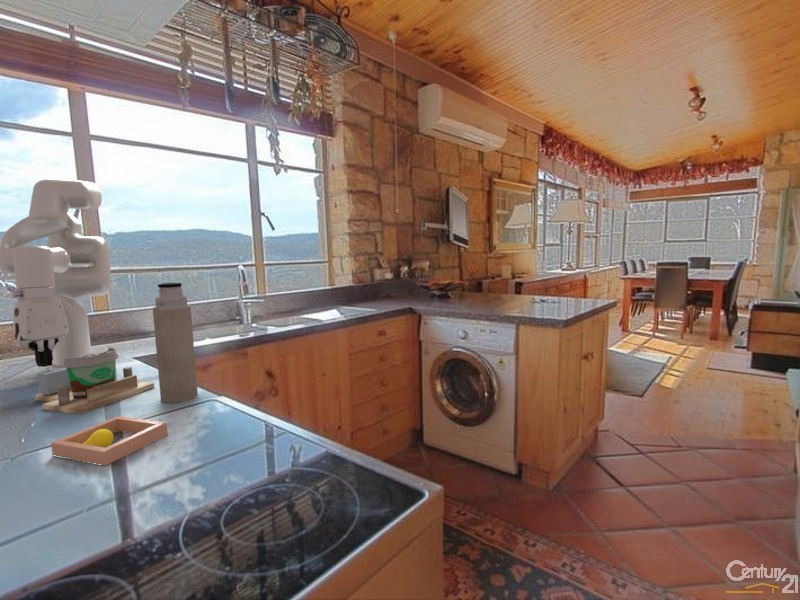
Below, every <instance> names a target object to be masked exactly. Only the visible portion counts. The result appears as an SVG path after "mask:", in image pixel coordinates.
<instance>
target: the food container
mask: <svg viewBox="0 0 800 600" xmlns="http://www.w3.org/2000/svg"><path fill="white" fill-rule="evenodd" d="M118 358H119V355H118V351H117V350H116V349H115V348H114V347H107V350H106V351H103V352H100V353H92V354H90V355H86V356H84V357H82V358H65V361H64V366H63V368H67V372H68V377H69V381H70V385H71V390H72V394H73V399H82V398H87V392H86V390H88V389H91V388H94V387H97V386H101V385H104V384H107V383H110V382H113V381H116V360H117V359H118Z"/></svg>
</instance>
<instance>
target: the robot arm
mask: <svg viewBox="0 0 800 600" xmlns="http://www.w3.org/2000/svg"><path fill="white" fill-rule="evenodd" d="M100 189H101V188H99V186H98V185H97V184H96V183H94V182H91V181H84V180H73V179H53V178H52V179H51V178H50V179H42V180H38V181H37V182H36V183H35V184H34V186H33V188H32V193H31V201H30V205H29V212H28V216H26V217H24V218H22V219H21V220H19V221H18V222H16V223H15V224H13V225H12V226H10V227H9V228H8V229H7V230H6V231H5V232H4V233H3V235H2V238H1V242H0V269H1V271H2V272H3V273H4V274H7V275H9V276H14V278H15V280H14V281H15V290H14V291H11V293H10V296H11V297H12V298H16V300H17V301H14V305H13V313H12V328H13V329H12V330H13V336H14V339H15V340H16V344H15V345H16V347H24V348H28V349H30V350H31V351H32V352H34V359H35V363H36V366H37V367H42V368H43V367H44V368H45V367H46V368H47V367H48V371H51V370H55V369H59V368H63V366H64V361H65V358H82V357H84V356H86V355H90V354H93V353H92V345H91V336H90V327H89V326H90V325H89V317H88V310H87V309H86V307H85V306H84V305H83V304H82V303H81V302H80V301H78V299H76V298H87V297H90V298H91V297H101V296H106V295H108V294H109V293H110V291H111V289H112V288H111V287H112V273H111V253H110V252H111V251H110V247H109V244H108V242H107V240H106V239H104V238H103V237H101V236H84V235H83V234H82V233H83V232H82V231H83V228H82V224H81V223H80V221H79V219H77V218H76V217H75V216H73V214H71V213H70V212H69V210H71V209H72V210H74V209H76V210H97V209H98V208H100V206H101V204H102V201H103V196H102V195H103V194H102V192H101V190H100ZM44 238H47V239H48V241H47V245H48V246H46V245H37V244H36V245H35V244H34V245H30V244H29V243H32V242H33V241H36V240H40V239H44ZM27 244H28V245H27Z"/></svg>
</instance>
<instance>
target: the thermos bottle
mask: <svg viewBox="0 0 800 600" xmlns="http://www.w3.org/2000/svg"><path fill="white" fill-rule="evenodd" d="M182 285H183V284H182V282H164V283H163V282H162V283H158V284H157V288H159V289H158V296H157V297H156V298H155V299H154V300H155V302H154V304H155V307H152V317H153V326H154V327H153V328H154V337H155V338H154V339H155V349H156V362H157V371H158V383H159V385H158V386H159V392H160V394H159V395H160V402H162V403H165V404H177V403H183V402H187V401H190V400H192V399H195V398H196V397H198V395H199V392H198V382H197V369H196V358H195V347H194V346H195V345H194V331H193V321H192V307H191V305H190V304H188V297H187V296H186V295H184V294H183V289H182Z"/></svg>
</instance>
